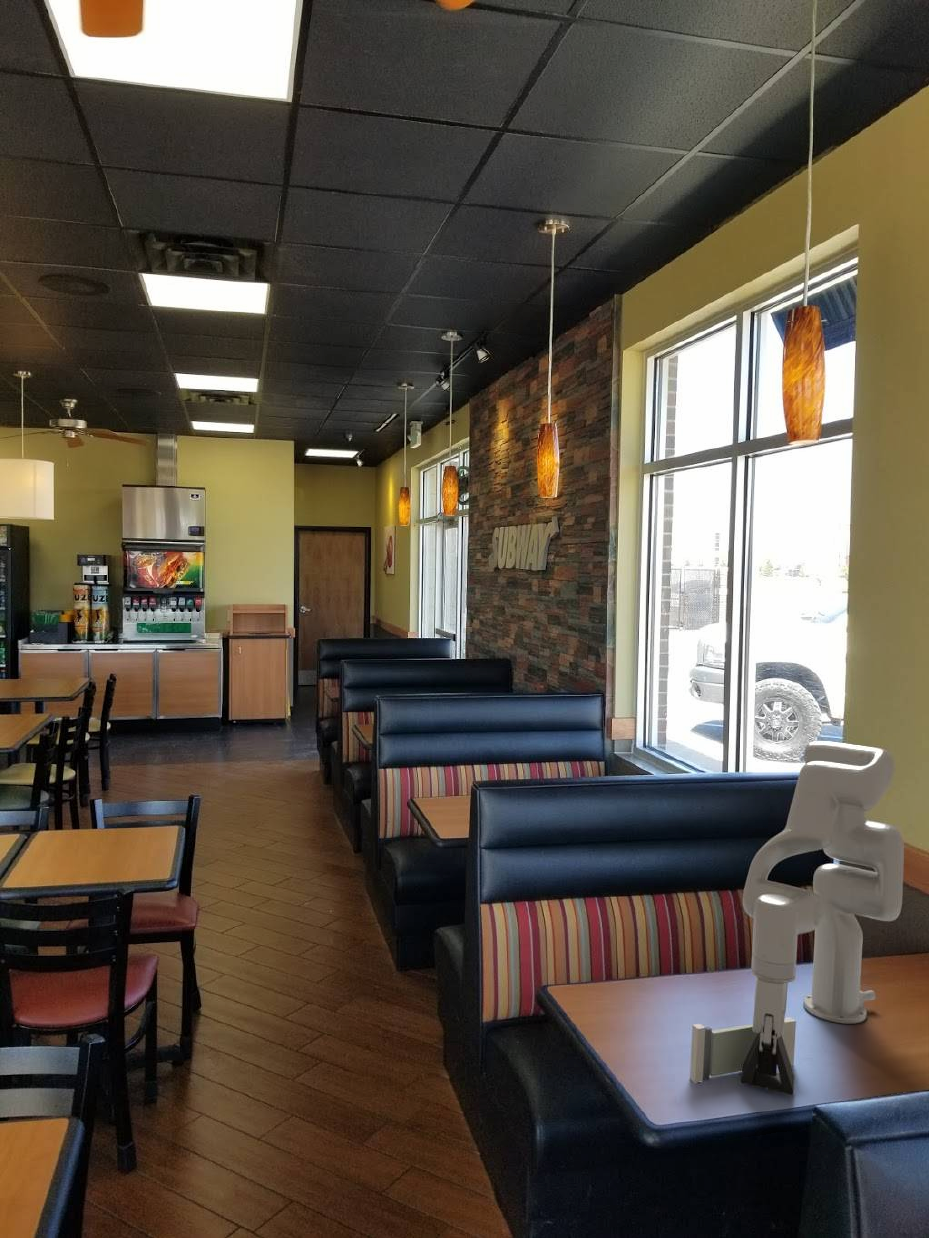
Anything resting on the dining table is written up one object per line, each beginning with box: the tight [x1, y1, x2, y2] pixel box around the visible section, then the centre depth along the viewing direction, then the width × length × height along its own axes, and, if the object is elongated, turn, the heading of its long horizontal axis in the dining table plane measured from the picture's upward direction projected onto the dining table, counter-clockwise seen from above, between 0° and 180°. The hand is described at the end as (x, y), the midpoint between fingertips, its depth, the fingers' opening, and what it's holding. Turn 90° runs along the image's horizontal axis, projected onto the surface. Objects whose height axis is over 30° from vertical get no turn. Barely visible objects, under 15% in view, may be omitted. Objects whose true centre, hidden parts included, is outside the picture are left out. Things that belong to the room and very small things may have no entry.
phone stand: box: [739, 1016, 795, 1096], centre depth 160 cm, size 9×6×12 cm, turn 68°
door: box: [703, 1023, 758, 1080], centre depth 165 cm, size 16×1×9 cm, turn 111°
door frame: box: [689, 1016, 797, 1084], centre depth 165 cm, size 22×2×10 cm, turn 111°
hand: (768, 1063), depth 160 cm, fingers closed on phone stand, 6 cm apart
